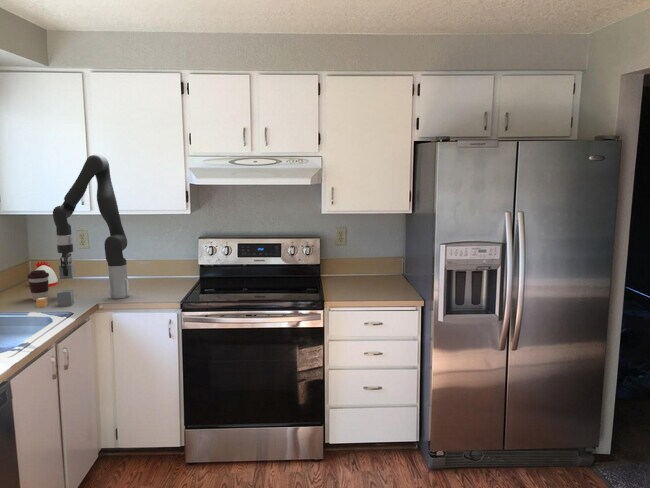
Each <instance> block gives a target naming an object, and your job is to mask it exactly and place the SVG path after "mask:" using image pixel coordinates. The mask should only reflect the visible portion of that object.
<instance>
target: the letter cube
mask: <svg viewBox="0 0 650 488" xmlns="http://www.w3.org/2000/svg"><path fill="white" fill-rule="evenodd" d="M48 303H49V301H48V298H47V297H45V298H38V299H37V300H36V308H37V307H38V308H46V307H47V306H48V305H49V304H48Z"/></svg>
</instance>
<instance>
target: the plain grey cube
mask: <svg viewBox="0 0 650 488" xmlns="http://www.w3.org/2000/svg"><path fill="white" fill-rule="evenodd" d="M64 266H65V265H64ZM58 272H59V280H68V279H70V280H71V279H73V278H75V275H76V274H75V263H72V264H69V265H68V276H63V269H61V264H59V265H58Z"/></svg>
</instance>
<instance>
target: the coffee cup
mask: <svg viewBox="0 0 650 488" xmlns="http://www.w3.org/2000/svg"><path fill="white" fill-rule="evenodd" d="M35 270H36V269H35ZM35 270H32V271H30V273H29V274H27V275H26V276H27V279H28V280H29V281H28V283H29V288H30V293H31V298H32V301H36V300H37V299H38V298H45V297H47V299H48V298H49V287H48V276H49V273H46V271H45V270H36V271H35Z"/></svg>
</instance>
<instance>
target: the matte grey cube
mask: <svg viewBox="0 0 650 488" xmlns="http://www.w3.org/2000/svg"><path fill="white" fill-rule="evenodd" d="M74 303H75V298H74V289H59V291H57V305H58V306H57V307H71V306H73V305H74Z"/></svg>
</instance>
